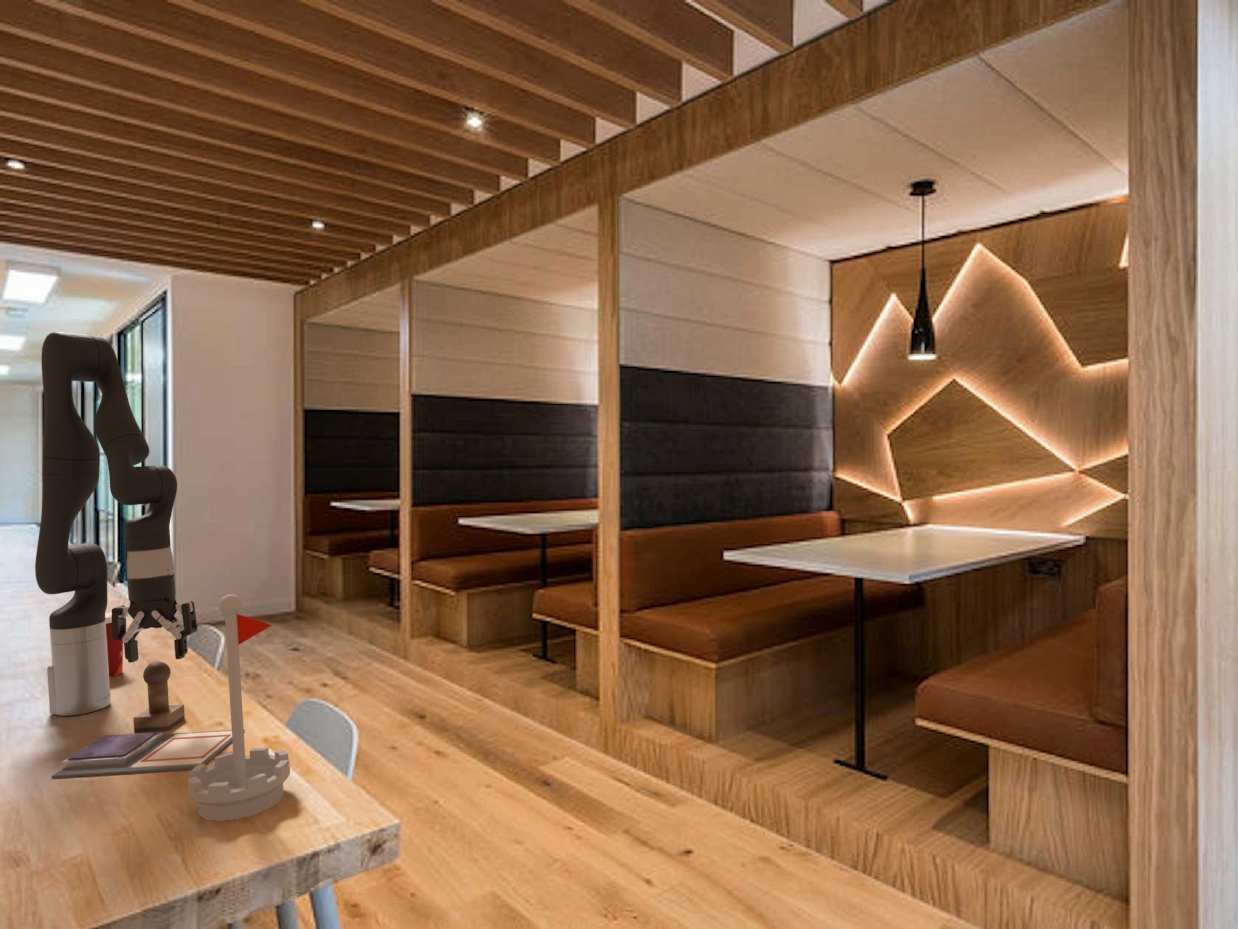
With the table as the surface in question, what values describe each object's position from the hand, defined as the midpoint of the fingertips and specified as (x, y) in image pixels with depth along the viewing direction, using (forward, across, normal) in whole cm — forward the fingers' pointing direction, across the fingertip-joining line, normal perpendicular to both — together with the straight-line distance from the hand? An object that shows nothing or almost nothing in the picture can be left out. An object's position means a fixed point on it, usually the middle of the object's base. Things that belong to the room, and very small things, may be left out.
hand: (157, 659), depth 143 cm
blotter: (+13, +6, -14) cm, 20 cm away
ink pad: (+12, 0, -14) cm, 19 cm away
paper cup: (+12, -32, +38) cm, 51 cm away
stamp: (+12, 0, 0) cm, 12 cm away
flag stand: (+13, +30, -35) cm, 48 cm away
